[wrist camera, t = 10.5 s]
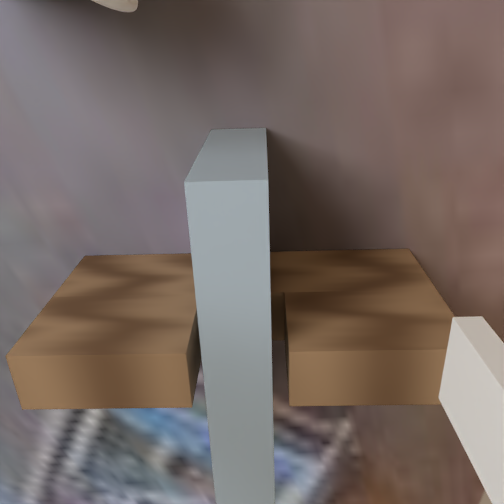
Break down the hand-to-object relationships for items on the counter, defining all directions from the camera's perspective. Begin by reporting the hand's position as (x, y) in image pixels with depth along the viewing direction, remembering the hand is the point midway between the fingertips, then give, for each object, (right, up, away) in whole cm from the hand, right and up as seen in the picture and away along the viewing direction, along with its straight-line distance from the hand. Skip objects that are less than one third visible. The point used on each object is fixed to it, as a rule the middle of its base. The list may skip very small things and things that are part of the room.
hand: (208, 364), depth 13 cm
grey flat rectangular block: (+1, +2, +17) cm, 17 cm away
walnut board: (+1, +2, +17) cm, 17 cm away
